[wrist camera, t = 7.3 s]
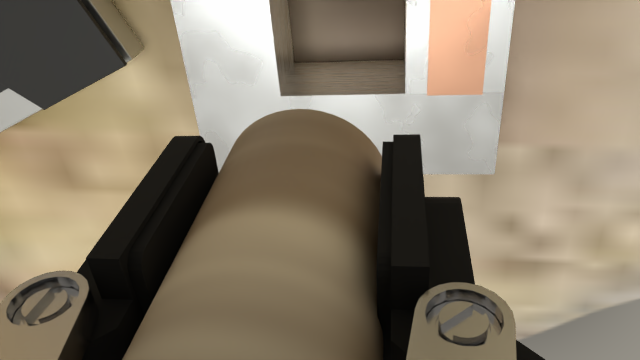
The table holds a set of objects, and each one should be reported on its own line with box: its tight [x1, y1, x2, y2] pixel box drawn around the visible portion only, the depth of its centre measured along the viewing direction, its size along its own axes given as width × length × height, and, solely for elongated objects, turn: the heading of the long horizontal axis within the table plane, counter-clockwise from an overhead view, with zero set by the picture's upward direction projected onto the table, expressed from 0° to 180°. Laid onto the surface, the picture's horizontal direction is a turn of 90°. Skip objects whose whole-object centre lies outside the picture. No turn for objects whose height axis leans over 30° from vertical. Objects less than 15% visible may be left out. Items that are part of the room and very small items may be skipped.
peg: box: [122, 109, 384, 360], centre depth 9 cm, size 4×4×7 cm
